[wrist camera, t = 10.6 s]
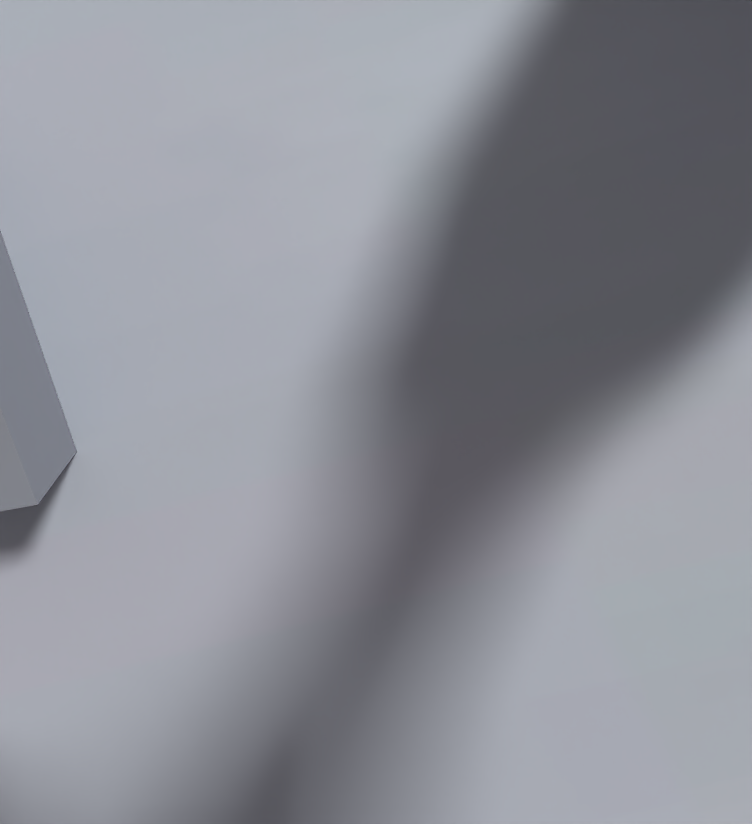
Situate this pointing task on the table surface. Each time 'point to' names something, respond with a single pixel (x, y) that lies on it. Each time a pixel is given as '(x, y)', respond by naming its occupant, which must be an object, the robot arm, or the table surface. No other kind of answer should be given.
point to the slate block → (26, 404)
